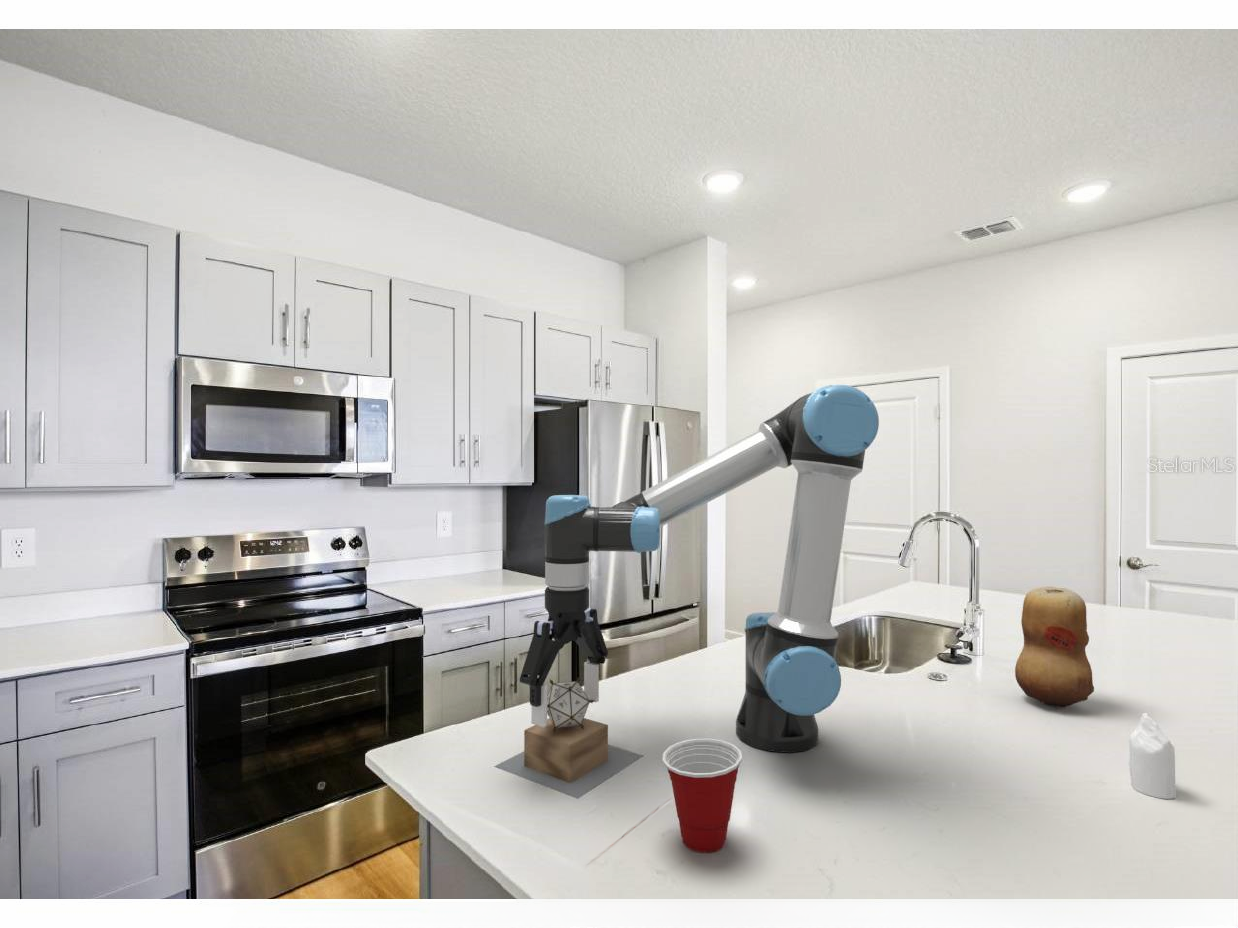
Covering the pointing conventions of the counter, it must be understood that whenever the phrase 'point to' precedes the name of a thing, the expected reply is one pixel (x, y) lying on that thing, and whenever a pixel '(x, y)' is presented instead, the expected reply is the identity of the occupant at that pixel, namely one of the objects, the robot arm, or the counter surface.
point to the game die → (567, 704)
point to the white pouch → (1152, 760)
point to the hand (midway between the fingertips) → (566, 711)
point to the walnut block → (566, 749)
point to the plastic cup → (703, 789)
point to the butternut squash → (1054, 648)
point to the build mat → (583, 784)
